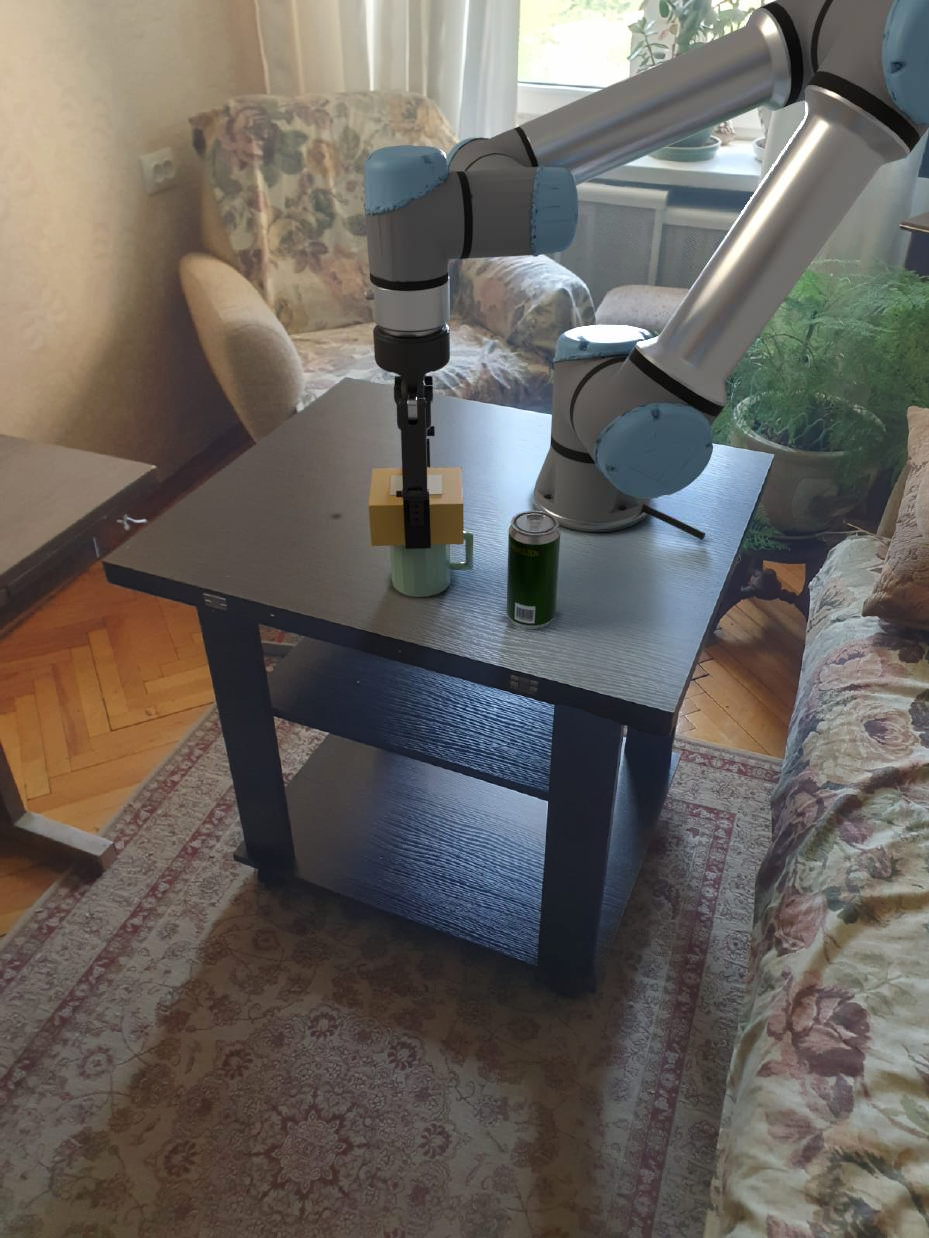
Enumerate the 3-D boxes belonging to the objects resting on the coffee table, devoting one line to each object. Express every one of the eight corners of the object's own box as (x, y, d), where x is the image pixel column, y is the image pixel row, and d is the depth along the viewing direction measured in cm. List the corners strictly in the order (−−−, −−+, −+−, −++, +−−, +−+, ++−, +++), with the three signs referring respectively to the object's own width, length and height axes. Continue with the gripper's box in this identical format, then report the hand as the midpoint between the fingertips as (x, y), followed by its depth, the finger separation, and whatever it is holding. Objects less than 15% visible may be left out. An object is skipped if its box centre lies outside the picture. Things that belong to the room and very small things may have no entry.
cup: (391, 598, 106) (387, 541, 102) (393, 565, 112) (389, 510, 107) (474, 596, 107) (474, 539, 102) (472, 563, 112) (472, 509, 108)
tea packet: (461, 505, 108) (461, 465, 105) (463, 544, 101) (463, 502, 98) (375, 507, 108) (372, 467, 105) (371, 546, 101) (368, 504, 98)
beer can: (552, 633, 101) (558, 538, 94) (503, 628, 101) (505, 533, 94) (557, 604, 105) (563, 511, 98) (509, 600, 106) (512, 507, 99)
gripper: (378, 287, 101) (389, 469, 114) (365, 370, 82) (380, 578, 94) (447, 286, 101) (450, 467, 114) (451, 369, 82) (454, 576, 95)
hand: (418, 518), depth 104 cm, fingers open, 11 cm apart
